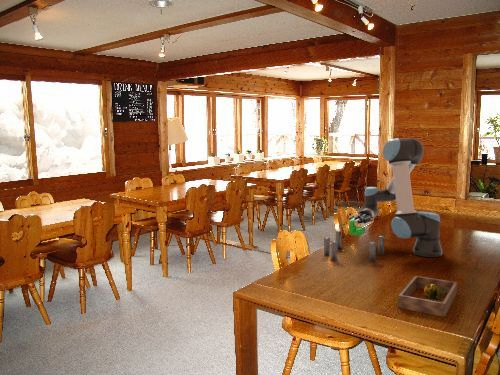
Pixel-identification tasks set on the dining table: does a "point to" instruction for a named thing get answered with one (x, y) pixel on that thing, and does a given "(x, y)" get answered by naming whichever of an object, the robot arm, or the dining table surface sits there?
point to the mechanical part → (355, 229)
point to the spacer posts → (337, 244)
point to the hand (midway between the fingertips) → (352, 223)
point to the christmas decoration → (433, 292)
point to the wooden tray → (424, 304)
